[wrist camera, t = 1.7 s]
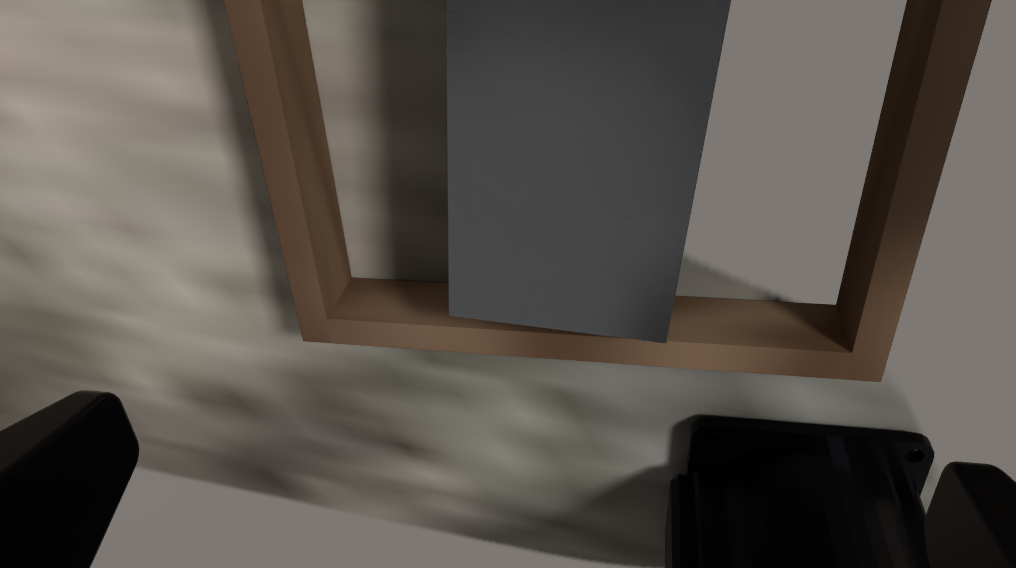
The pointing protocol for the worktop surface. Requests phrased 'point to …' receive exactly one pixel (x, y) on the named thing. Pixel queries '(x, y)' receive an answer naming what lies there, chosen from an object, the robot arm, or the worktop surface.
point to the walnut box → (695, 320)
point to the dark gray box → (575, 157)
